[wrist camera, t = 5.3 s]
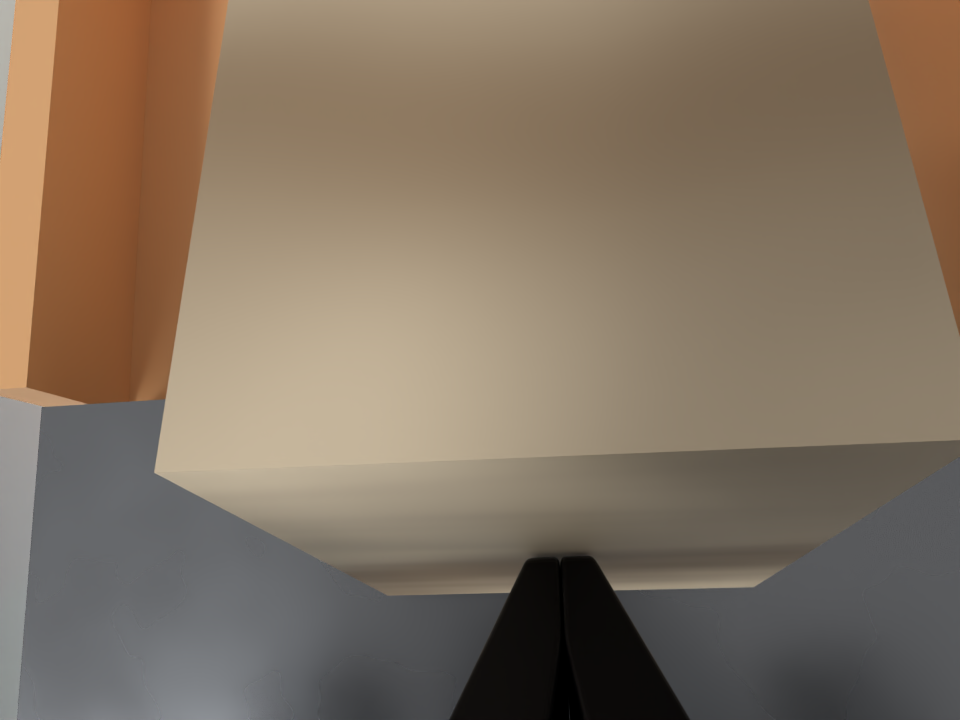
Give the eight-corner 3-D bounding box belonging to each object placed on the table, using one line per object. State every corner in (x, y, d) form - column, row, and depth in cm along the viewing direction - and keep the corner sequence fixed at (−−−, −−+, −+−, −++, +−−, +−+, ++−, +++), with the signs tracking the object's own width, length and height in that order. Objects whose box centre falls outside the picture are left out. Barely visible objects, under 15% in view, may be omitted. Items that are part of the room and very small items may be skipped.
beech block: (753, 586, 13) (987, 438, 5) (387, 595, 13) (154, 472, 6) (708, 262, 15) (828, -146, 8) (398, 282, 16) (240, -79, 8)
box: (1069, 360, 17) (1218, 308, 13) (97, 420, 19) (-23, 390, 15) (948, -212, 20) (1039, -390, 16) (131, -106, 22) (39, -240, 18)
